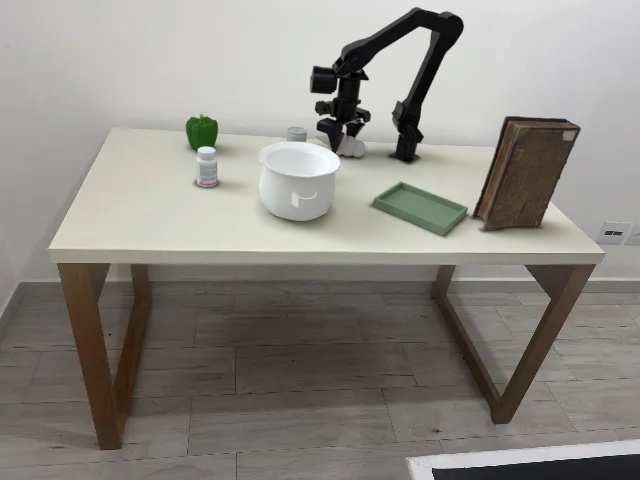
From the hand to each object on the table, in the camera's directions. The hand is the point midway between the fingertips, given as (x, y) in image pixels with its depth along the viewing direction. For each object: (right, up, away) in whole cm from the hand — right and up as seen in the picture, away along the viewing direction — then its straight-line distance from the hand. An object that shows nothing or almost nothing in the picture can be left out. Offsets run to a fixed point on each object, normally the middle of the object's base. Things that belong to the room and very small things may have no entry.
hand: (340, 149), depth 141 cm
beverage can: (-13, -9, -14) cm, 21 cm away
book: (+38, -22, -24) cm, 50 cm away
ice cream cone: (-1, -1, 0) cm, 2 cm away
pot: (-12, -18, -28) cm, 36 cm away
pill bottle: (-33, -12, -23) cm, 42 cm away
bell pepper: (-38, -1, -6) cm, 38 cm away
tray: (+18, -19, -23) cm, 35 cm away
